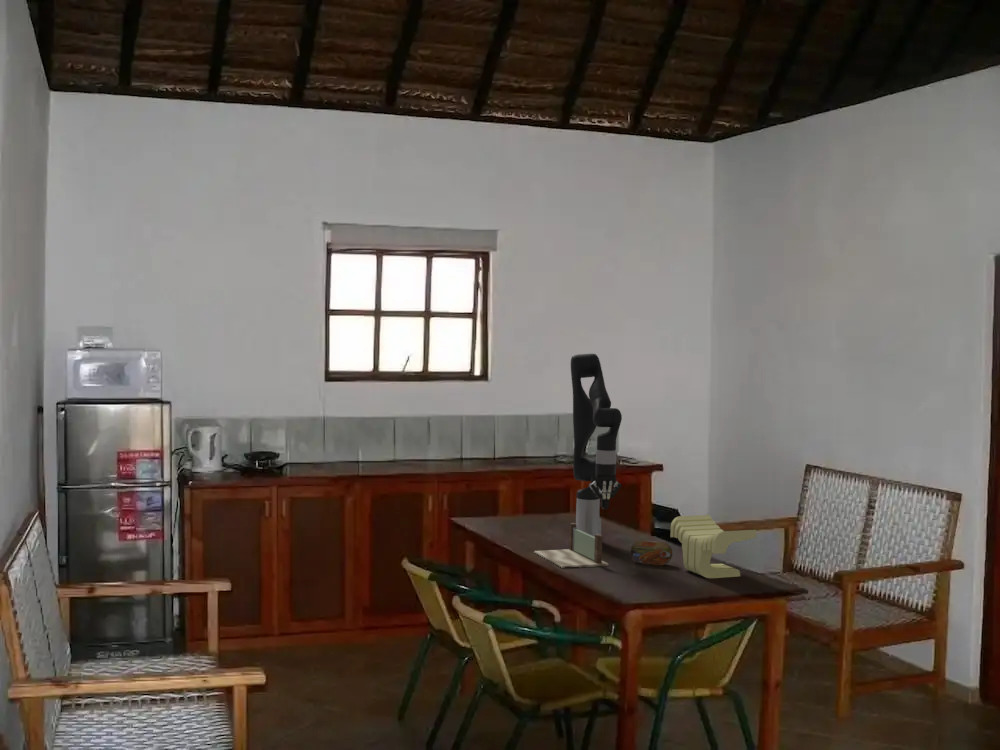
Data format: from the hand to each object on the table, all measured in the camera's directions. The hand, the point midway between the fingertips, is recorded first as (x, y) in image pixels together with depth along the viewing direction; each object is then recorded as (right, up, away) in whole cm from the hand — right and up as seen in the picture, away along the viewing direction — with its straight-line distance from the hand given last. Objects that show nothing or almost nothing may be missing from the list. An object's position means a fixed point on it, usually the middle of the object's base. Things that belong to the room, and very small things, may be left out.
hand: (604, 508), depth 404 cm
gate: (-7, -17, 0) cm, 18 cm away
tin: (+16, -19, -7) cm, 26 cm away
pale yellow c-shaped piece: (+35, -20, -21) cm, 46 cm away
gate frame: (-13, -18, -3) cm, 22 cm away
